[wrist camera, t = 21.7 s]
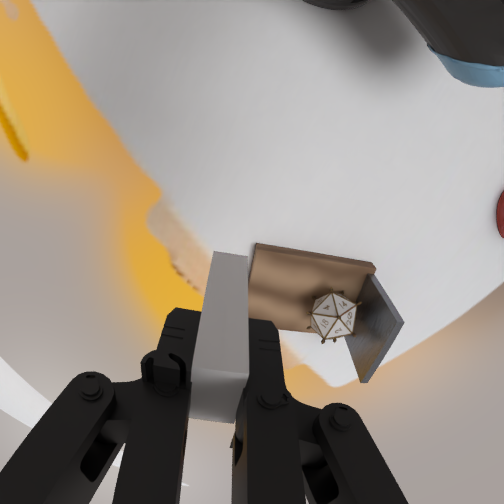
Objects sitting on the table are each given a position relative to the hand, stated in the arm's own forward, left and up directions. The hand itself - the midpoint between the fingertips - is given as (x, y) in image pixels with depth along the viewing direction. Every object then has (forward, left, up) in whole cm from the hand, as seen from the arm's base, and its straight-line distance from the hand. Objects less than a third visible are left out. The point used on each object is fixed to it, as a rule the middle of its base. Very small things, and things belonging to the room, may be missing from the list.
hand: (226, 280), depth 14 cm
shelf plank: (+18, +14, -28) cm, 36 cm away
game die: (+18, +17, -27) cm, 37 cm away
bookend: (+18, +23, -26) cm, 39 cm away
